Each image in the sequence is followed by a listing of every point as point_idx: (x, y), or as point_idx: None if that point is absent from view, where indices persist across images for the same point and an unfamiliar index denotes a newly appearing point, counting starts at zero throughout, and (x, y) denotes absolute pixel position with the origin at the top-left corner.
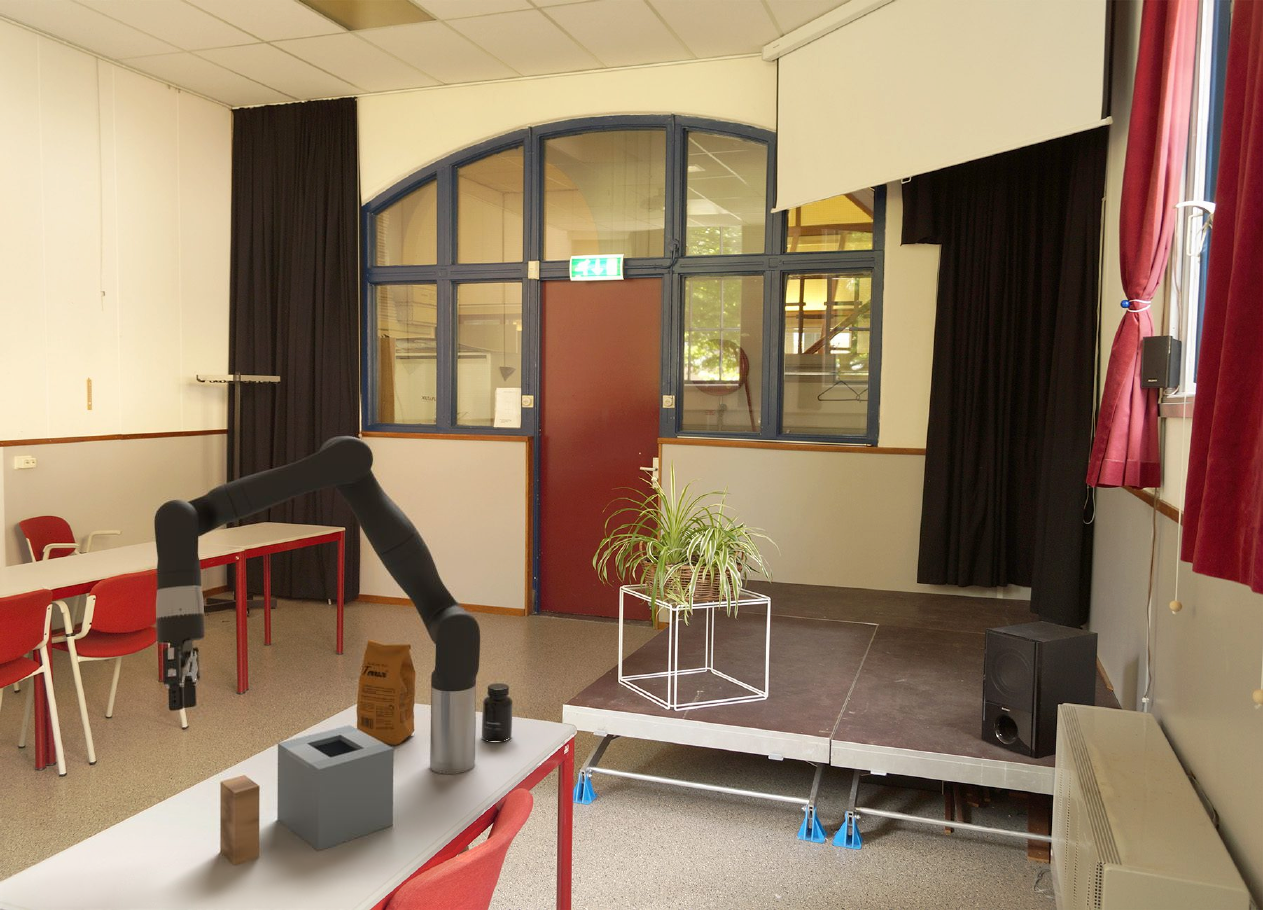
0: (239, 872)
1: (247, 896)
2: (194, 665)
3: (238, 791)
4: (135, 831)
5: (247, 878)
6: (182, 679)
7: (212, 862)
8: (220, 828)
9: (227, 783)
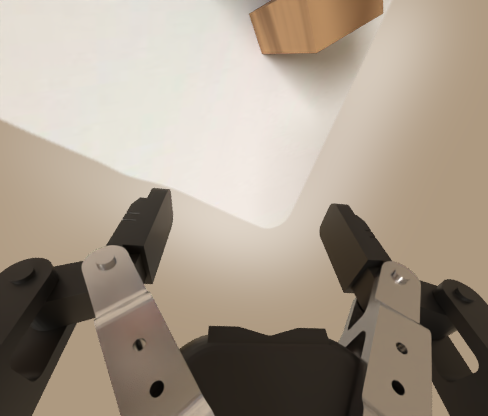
0: None
1: None
2: (184, 363)
3: (381, 4)
4: (179, 174)
5: None
6: (417, 289)
7: (286, 62)
8: (275, 53)
9: (332, 34)
